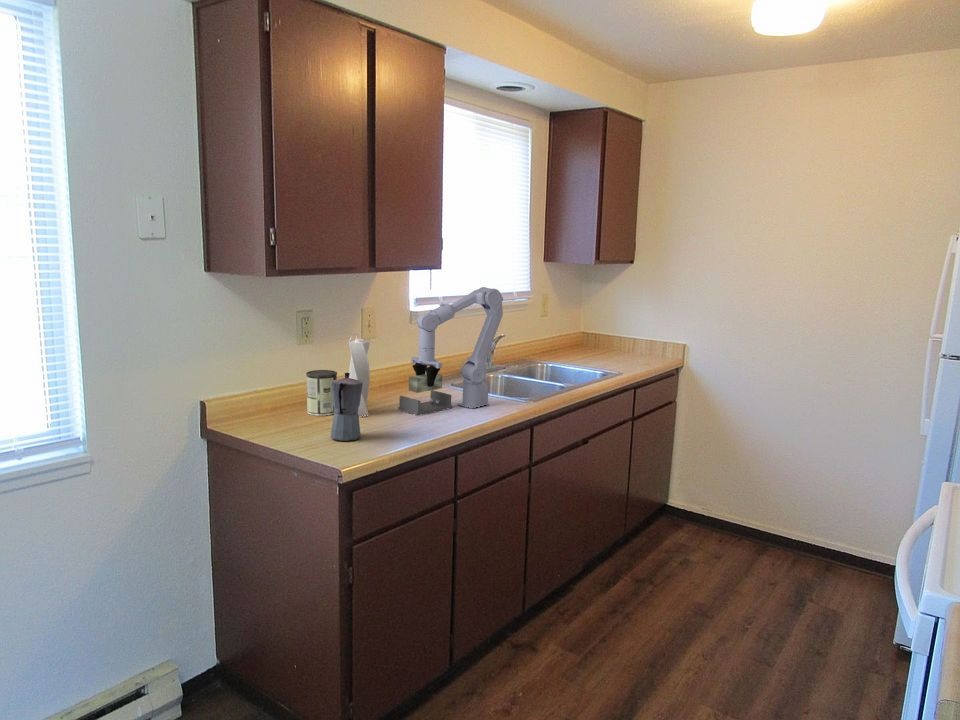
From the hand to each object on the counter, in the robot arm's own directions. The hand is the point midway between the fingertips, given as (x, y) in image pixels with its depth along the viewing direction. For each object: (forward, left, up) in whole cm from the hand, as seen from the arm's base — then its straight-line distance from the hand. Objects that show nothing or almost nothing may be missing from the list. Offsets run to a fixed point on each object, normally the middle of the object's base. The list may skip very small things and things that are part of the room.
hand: (425, 385), depth 239 cm
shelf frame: (0, 0, -9) cm, 9 cm away
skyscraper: (+23, -9, -9) cm, 26 cm away
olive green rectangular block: (0, 0, -2) cm, 2 cm away
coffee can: (+31, -19, -9) cm, 37 cm away
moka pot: (+43, +12, -9) cm, 46 cm away
